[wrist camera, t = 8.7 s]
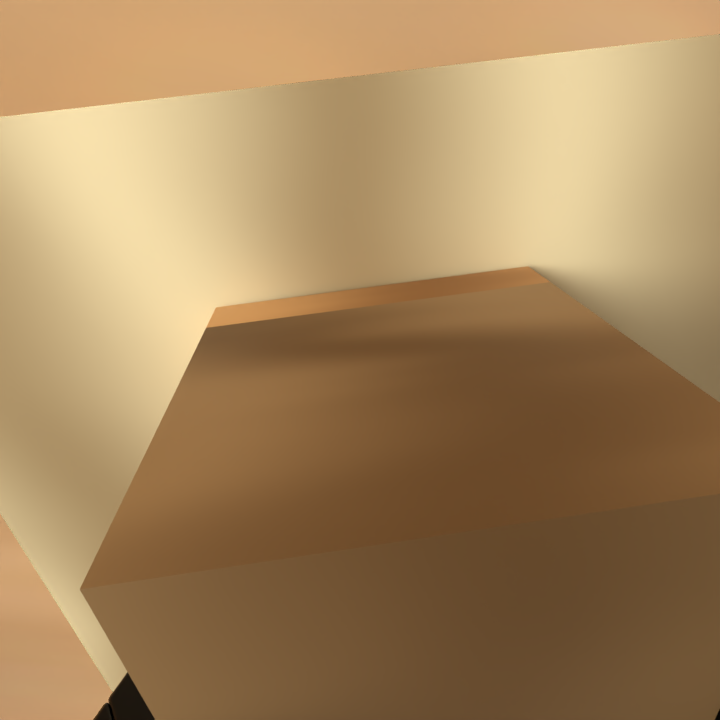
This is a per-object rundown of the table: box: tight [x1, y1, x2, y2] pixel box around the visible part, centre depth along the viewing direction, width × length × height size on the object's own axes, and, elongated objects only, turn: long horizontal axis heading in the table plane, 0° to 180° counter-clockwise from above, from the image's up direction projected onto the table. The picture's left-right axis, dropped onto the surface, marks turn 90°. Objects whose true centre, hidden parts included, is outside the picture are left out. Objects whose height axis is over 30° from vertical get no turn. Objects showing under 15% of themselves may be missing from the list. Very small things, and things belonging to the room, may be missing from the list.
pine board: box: [0, 34, 720, 692], centre depth 12 cm, size 15×22×2 cm
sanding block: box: [80, 266, 720, 720], centre depth 7 cm, size 5×8×5 cm, turn 6°
